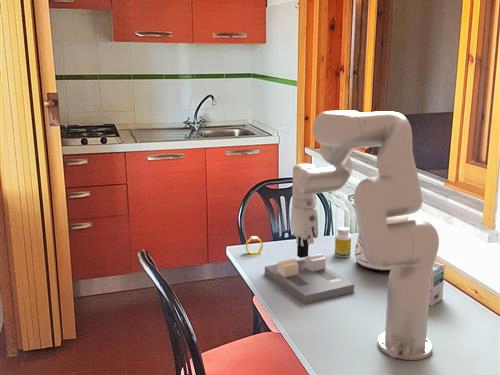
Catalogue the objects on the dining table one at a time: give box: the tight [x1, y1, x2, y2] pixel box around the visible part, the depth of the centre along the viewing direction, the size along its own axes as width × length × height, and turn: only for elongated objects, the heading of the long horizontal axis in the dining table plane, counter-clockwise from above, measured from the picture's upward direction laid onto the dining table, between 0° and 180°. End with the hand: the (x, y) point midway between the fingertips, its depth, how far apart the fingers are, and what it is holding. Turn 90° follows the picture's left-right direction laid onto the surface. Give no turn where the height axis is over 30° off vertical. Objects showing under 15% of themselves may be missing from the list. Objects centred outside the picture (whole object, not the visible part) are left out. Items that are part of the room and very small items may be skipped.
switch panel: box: [264, 258, 355, 305], centre depth 171 cm, size 24×17×2 cm
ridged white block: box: [304, 253, 327, 272], centre depth 176 cm, size 4×5×4 cm
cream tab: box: [277, 258, 298, 277], centre depth 171 cm, size 4×5×4 cm
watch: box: [245, 235, 264, 255], centre depth 196 cm, size 6×3×6 cm, turn 102°
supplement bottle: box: [334, 226, 352, 259], centre depth 193 cm, size 5×5×10 cm
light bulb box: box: [429, 261, 446, 307], centre depth 160 cm, size 11×7×11 cm, turn 47°
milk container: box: [354, 214, 409, 272], centre depth 183 cm, size 17×17×18 cm
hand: (302, 256), depth 183 cm, fingers closed
